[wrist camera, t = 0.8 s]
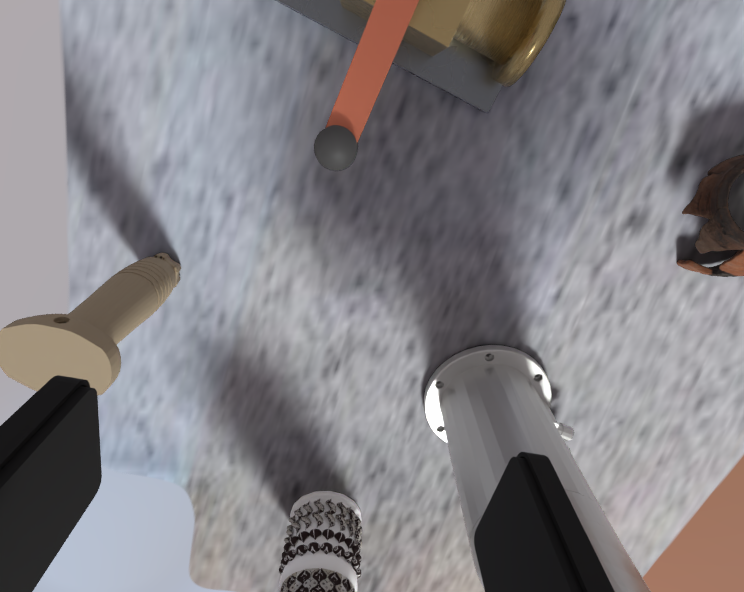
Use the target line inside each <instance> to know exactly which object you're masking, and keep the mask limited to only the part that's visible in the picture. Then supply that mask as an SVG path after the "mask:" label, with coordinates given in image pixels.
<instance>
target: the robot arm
mask: <svg viewBox="0 0 744 592" xmlns="http://www.w3.org/2000/svg"><path fill="white" fill-rule="evenodd" d="M551 397H552V392H551V385H550V382H549V380H548V377H547V375H546V373H545V372H544V370H543V369H542V367H541V366H540V365H539V364H538V363H537V362H536V360H535V359H533V358H532V357H531V356H529V355H528V354H526V353H525V352H522V351H520V350H518V349H515V348H511V347H507V346H500V345H486V346H478V347H474V348H471V349H467V350H464V351H462V352H460V353H458V354H456V355H454V356H452V357H451V358H449V359H448V360H446V361H445V362H444V363H443V364H442V365H441V366H440V367H439V368H438V369H436V371H435V372H434V374H433V375H432V376H431V378H430V379H429V382H428V384H427V386H426V389H425V394H424V409H425V414H426V418H427V421H428V423H429V425H430V427H431V429H432V430H433V431H434V433H435V434H436V435H437V436H439V437H440V438H441V439H442V440H443V441H445V442H447V444H448V448H449V453H450V457H451V462H452V467H453V471H454V476H455V480H456V485H457V489H458V494H459V498H460V503H461V508H462V512H463V517H464V521H465V526H466V530H467V535H468V540H469V544H470V549H471V552H472V557H473V561H474V565H475V569H476V572H477V575H478V577H479V580H480V582H481V584H482V586H483V588H484V589H485V592H651V591H650V590H649V588H648V587H647V585H646V583H645V582H644V580H643V578H642V577H641V575H640V573H639V572H638V570H637V568H636V567H635V565H634V563H633V562H632V560H631V558H630V557H629V555H628V553H627V552H626V550H625V548H624V547H623V545H622V543H621V542H620V540H619V538H618V536H617V534H616V533H615V531H614V529H613V527H612V526H611V524H610V522H609V520H608V518H607V517H606V515H605V513H604V511H603V510H602V508H601V506H600V505H599V503H598V501H597V499H596V497H595V496H594V494H593V492H592V490H591V488H590V487H589V485H588V483H587V481H586V479H585V478H584V476H583V474H582V472H581V470H580V469H579V467H578V465H577V463H576V461H575V460H574V458H573V456H572V454H571V451H570V448H569V447H568V446H567V445H566V443H565V442H564V440H566V441H570V440H571V439H572V438H573V436H574V430H573V428H572V427H569V426H567V425H564V424H562V423H558V422H557V421H556V419H555V417H554V416H553V414H552V412H551V410H550V409H549V408H550V405H551ZM563 439H564V440H563ZM101 476H102V475H101V456H100V437H99V419H98V400H97V391H96V389H95V388H90V383H89V382H88V380H84V379H78V378H72V377H66V376H60V375H57V376H54V377H53V378H51V379H50V380H49V381H48V382H47V383H46V384H45V385H44V386H43V387H42V388H41V389H39V390H38V391H37V392H36V393H35V394H34V395H33V396H32V397H31V398H30V399H29V400H28V401H27V402H26V403H25V404H24V405H22V406H21V407H20V408H19V409H18V410H17V411H16V412H15V413H14V414H13V415H12V416H11V417H10V418H9V419H8V420H7V421H5V422H4V423H3V424H2V425H1V426H0V592H32V591H33V590H34V588H35V587H36V585H37V583H38V582H39V581H40V579H41V577H42V576H43V574H44V573H45V571H46V570H47V568H48V567H49V565H50V563H51V562H52V561H53V559H54V558H55V556H56V555H57V553H58V552H59V550H60V548H61V547H62V545H63V544H64V542H65V541H66V539H67V538H68V536H69V534H70V533H71V532H72V530H73V529H74V527H75V526H76V524H77V522H78V521H79V519H80V518H81V516H82V515H83V513H84V512H85V510H86V509H87V507H88V505H89V504H90V503H91V501H92V500H93V498H94V496H95V495H96V493H97V491H98V489H99V486H100V483H101Z"/></svg>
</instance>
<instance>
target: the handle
mask: <svg viewBox="0 0 744 592" xmlns="http://www.w3.org/2000/svg"><path fill="white" fill-rule="evenodd" d="M180 269H181V266H180V264H179V263H177V262H175V261H173V260H172V259H171V258H170V257H169V255H168V254H166V253H158V254H156V255H155V256H154V257H146V258H144V259H142V260H139V261H137V262H135V263H133V264H131V265H129V266H128V267H126V268H124V269H122V270H121V271H119V272H118V273H117V274H115V275H114V276H112V277H111V278H110V279H109V280H108V281H106V282H105V283H104V284H103V285H102V286H101V287H100V288H98V289H97V290H96V291H95V292H94V293H93V294H92V295H91V296H89V297H88V298H87V299H86V300H85V301H84V302H82V303H81V304H80V305H79V306H78V307H76V308H75V309H74V310H73V311H72V312H70V313H69V314H46V315H38V316H33V317H27V318H23V319H19V320H16V321H14V322H12V323H11V324H9V325H7V326H6V327H4V328H3V329H2V330H1V331H0V367H1V368H2V370H3V371H4V373H5V374H6V375H7V376H8V377H10V378H12V379H14V380H16V381H17V382H19V383H21V384H23V385H25V386H27V387H29V388H31V389H33V390H36V391H38V390H39V389H41V388H42V387H43V386H44V385H45V384H46V383H47V382H48V381H49V380H50V379H51V378H53V377H54V376H57V375H60V376H66V377H72V378H78V379H84V380H88V382H89V383H90V388H95V389H96V391H97V395H102V394H103V393H104V392H105V391H106V390H107V389H108V388H109V387H110V386H111V385H112V383H113V382H114V381H115V379H116V378H117V377H118V374H119V372H120V368H121V356H120V352H119V349H118V347H117V344H118V343H119V342H120V341H121V340H122V339H123V338H125V337H126V336H127V335H128V334H129V333H130V332H132V331H133V330H134V329H135V328H136V327H138V326H139V325H140V324H141V323H143V322H144V321H145V320H146V319H147V318H149V317H150V316H151V315H152V314H153V313H154V312H155V311H156V310H157V309H158V308H159V307H160V306H161V305H162V304H163V303H164V302H165V300H166V299H167V298H168V296H169V295H170V293H171V292H172V290H173V288H174V287H176V285H177V284H178V282H179V281H180V276H179V271H180Z"/></svg>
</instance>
